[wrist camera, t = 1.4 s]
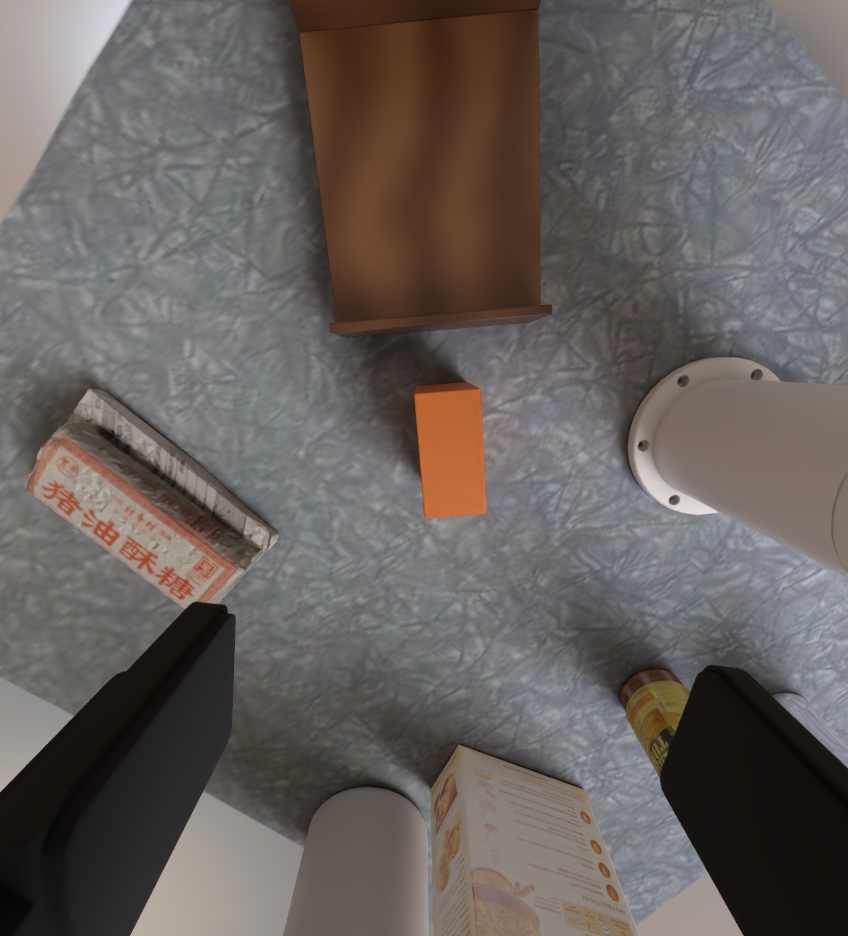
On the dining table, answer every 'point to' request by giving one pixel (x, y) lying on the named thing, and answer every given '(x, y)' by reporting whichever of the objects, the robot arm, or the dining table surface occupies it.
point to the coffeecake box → (519, 855)
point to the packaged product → (147, 503)
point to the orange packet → (451, 449)
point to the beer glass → (814, 724)
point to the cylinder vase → (362, 868)
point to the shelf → (426, 160)
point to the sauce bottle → (654, 710)
